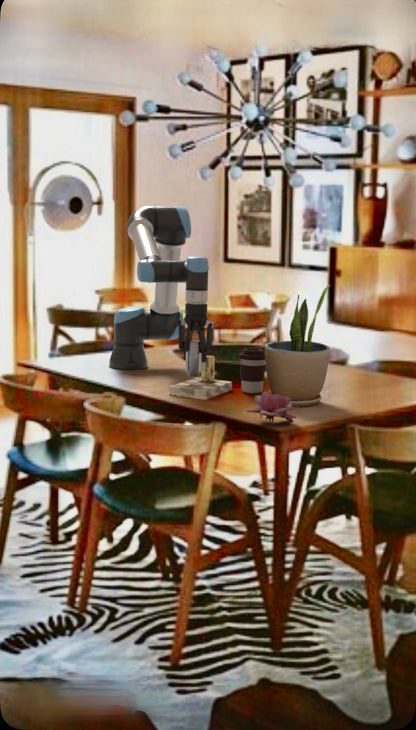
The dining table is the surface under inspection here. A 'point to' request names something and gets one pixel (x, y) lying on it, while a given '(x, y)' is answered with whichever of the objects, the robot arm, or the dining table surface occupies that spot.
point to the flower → (273, 406)
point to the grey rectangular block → (194, 358)
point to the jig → (200, 388)
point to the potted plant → (298, 361)
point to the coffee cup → (252, 370)
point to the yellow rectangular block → (208, 370)
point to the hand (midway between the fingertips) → (194, 370)
